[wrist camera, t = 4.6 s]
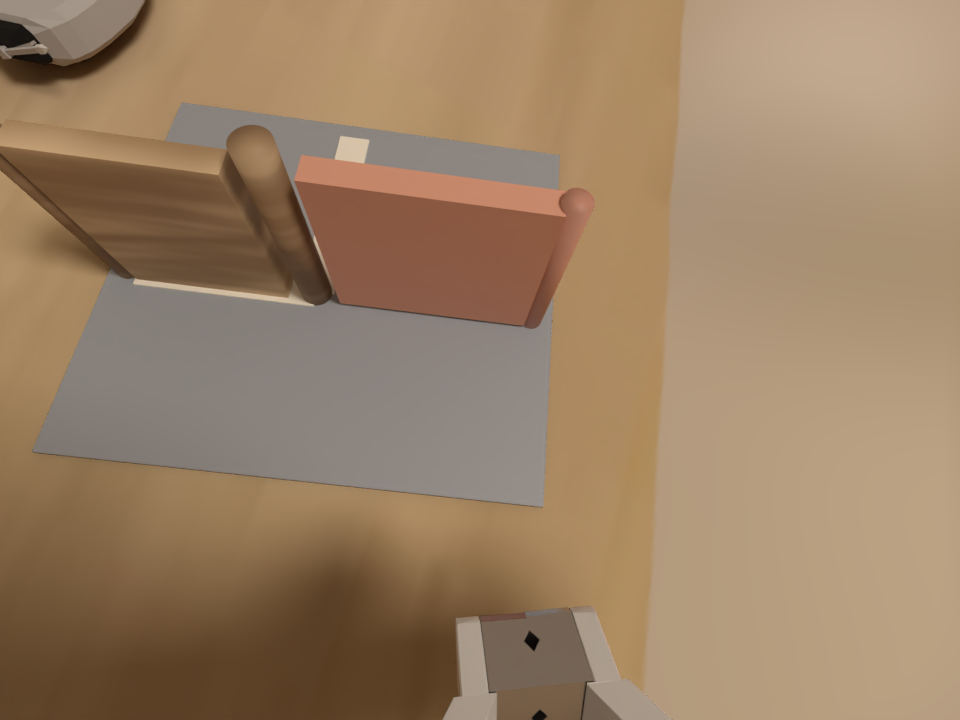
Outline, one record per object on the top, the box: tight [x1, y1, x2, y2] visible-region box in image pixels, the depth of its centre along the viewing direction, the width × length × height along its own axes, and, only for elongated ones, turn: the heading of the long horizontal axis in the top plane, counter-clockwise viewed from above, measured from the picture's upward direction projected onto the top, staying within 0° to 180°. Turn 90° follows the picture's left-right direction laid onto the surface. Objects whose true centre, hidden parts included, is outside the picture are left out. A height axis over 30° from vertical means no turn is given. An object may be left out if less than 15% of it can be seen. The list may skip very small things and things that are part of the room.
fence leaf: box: [294, 155, 595, 329], centre depth 23 cm, size 1×11×10 cm, turn 85°
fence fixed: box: [0, 120, 332, 306], centre depth 22 cm, size 2×11×11 cm, turn 85°
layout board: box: [32, 103, 560, 507], centre depth 28 cm, size 22×24×1 cm
